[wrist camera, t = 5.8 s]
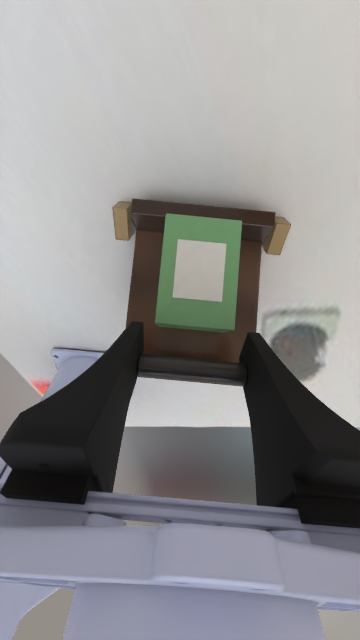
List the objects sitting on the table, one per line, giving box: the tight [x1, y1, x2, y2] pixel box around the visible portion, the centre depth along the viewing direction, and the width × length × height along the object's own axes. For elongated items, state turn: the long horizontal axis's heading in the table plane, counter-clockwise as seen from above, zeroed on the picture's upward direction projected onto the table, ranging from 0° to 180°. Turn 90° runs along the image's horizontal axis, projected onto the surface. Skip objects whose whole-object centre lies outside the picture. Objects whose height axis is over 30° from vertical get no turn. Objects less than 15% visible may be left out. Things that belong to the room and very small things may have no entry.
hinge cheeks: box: [113, 202, 291, 255], centre depth 17 cm, size 2×12×2 cm, turn 86°
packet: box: [155, 213, 242, 333], centre depth 15 cm, size 6×4×3 cm
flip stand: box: [126, 199, 275, 386], centre depth 15 cm, size 11×9×5 cm
